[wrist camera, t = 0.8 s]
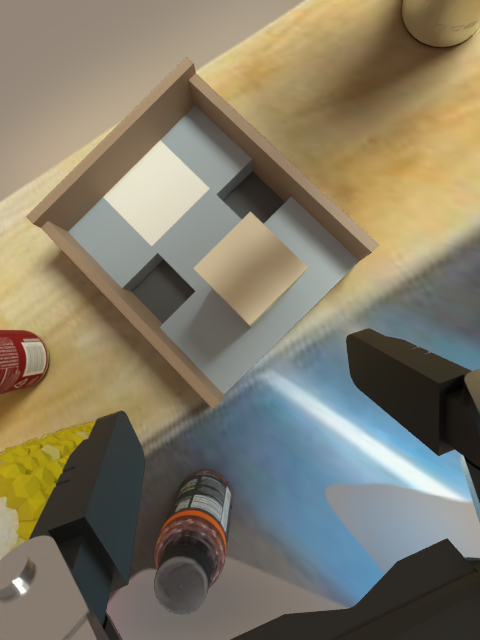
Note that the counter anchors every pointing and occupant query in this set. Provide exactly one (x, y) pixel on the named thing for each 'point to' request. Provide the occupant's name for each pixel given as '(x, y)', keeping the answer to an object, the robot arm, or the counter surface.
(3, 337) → the soda can
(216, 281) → the birch block
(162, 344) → the tray
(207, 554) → the supplement bottle
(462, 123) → the counter surface
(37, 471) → the food
